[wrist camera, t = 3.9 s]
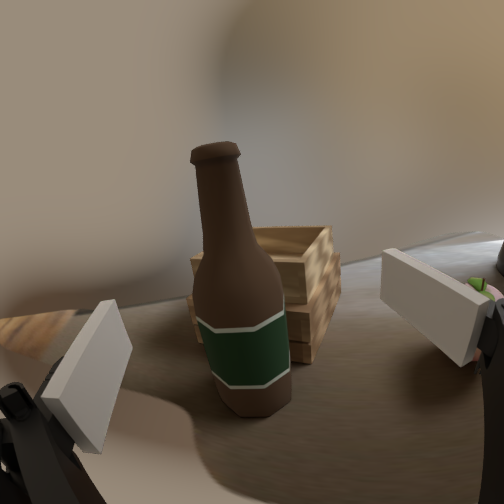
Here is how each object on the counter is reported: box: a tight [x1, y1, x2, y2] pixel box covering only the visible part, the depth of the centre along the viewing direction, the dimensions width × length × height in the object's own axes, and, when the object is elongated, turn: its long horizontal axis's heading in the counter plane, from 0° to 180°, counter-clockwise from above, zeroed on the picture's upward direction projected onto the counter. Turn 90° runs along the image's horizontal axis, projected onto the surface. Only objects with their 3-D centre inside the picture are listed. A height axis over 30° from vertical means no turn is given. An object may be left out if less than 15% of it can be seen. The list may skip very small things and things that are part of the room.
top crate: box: [190, 226, 333, 304], centre depth 38 cm, size 15×15×5 cm
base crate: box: [186, 253, 341, 364], centre depth 40 cm, size 18×16×7 cm
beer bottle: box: [190, 141, 291, 417], centre depth 23 cm, size 8×8×24 cm
